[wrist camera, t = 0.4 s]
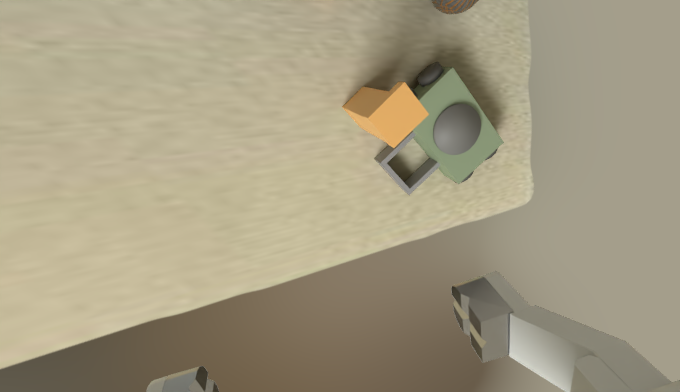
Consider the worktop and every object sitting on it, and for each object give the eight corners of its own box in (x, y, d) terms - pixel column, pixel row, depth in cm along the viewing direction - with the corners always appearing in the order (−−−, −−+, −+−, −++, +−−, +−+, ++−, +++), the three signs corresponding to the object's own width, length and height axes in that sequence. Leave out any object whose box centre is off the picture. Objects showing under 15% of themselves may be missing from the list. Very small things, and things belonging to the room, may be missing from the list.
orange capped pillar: (361, 129, 57) (393, 148, 44) (340, 105, 55) (367, 118, 41) (388, 102, 56) (429, 114, 43) (368, 78, 54) (404, 82, 41)
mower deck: (418, 207, 64) (432, 219, 59) (354, 137, 57) (364, 144, 52) (488, 141, 63) (509, 148, 58) (432, 61, 56) (450, 60, 50)
